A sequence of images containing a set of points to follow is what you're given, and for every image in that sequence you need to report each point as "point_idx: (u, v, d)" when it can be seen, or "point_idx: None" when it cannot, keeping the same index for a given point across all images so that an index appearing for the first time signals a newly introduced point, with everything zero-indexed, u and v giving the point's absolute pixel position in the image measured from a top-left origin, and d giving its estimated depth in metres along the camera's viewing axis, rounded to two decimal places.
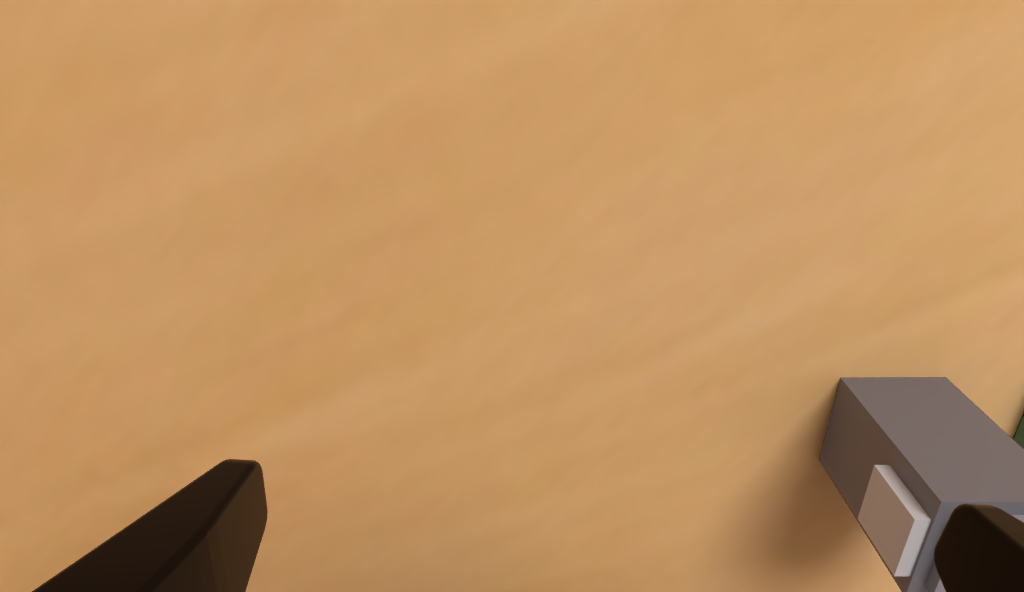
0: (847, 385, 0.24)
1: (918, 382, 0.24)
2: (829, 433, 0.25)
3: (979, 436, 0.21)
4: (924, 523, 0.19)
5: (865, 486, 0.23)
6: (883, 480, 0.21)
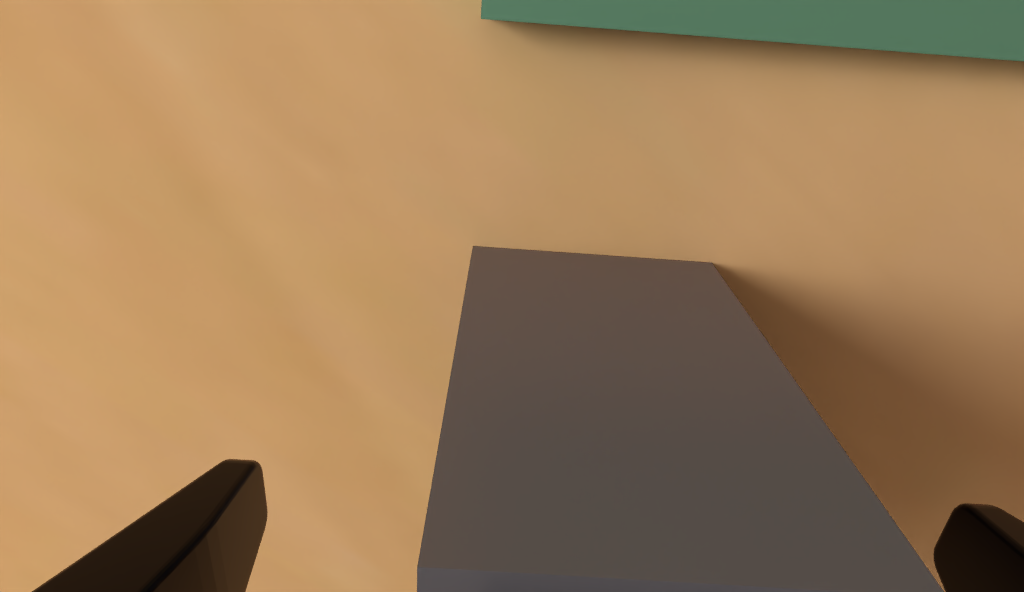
0: None
1: None
2: None
3: None
4: None
5: None
6: None
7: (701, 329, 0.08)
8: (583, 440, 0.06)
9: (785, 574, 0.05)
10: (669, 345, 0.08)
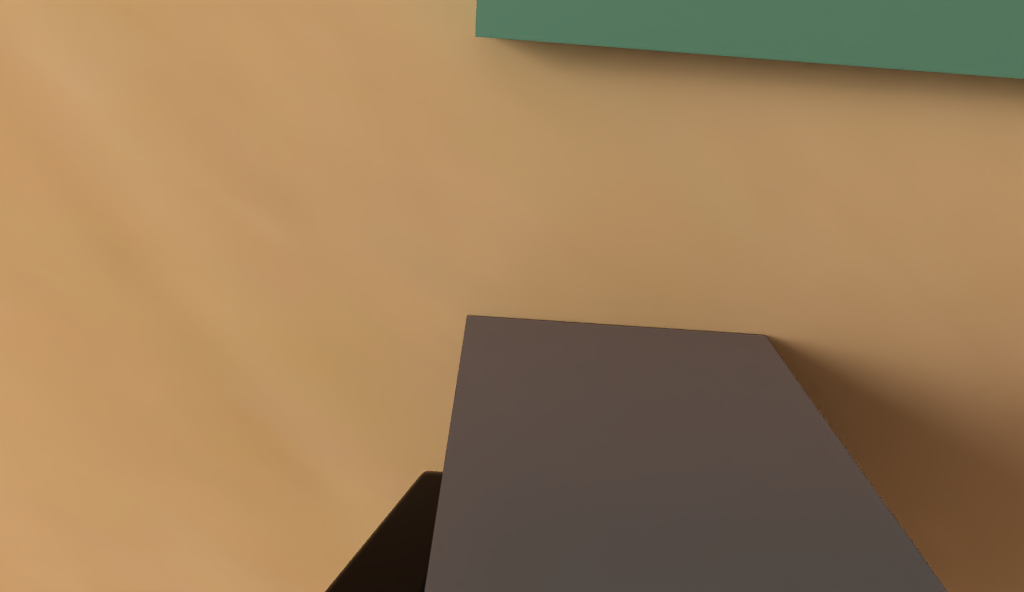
0: None
1: None
2: None
3: None
4: None
5: None
6: None
7: (769, 449, 0.06)
8: None
9: None
10: (732, 480, 0.06)
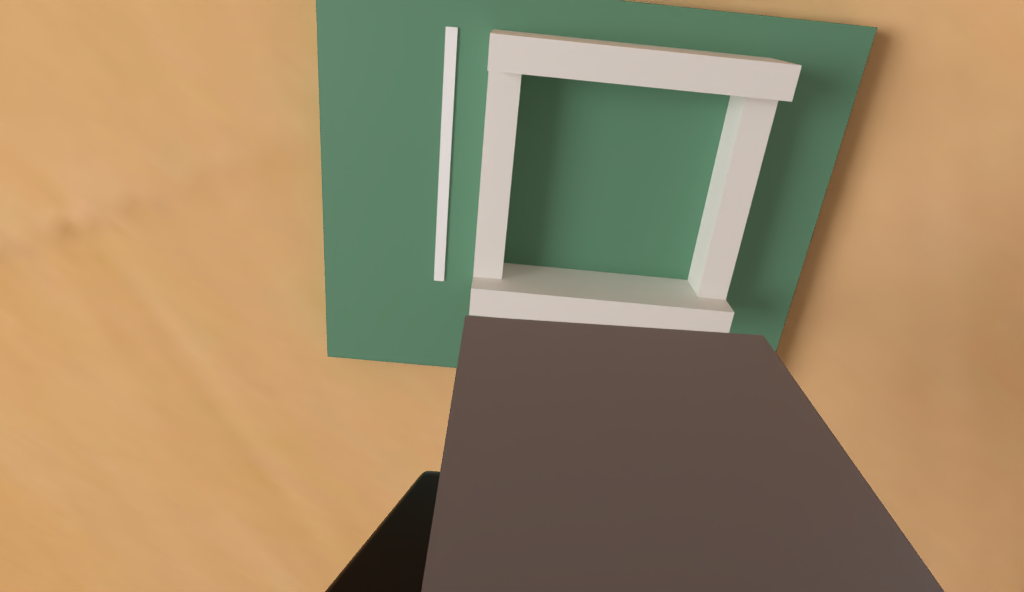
0: None
1: None
2: None
3: None
4: None
5: None
6: None
7: (767, 449, 0.06)
8: None
9: None
10: (729, 480, 0.06)
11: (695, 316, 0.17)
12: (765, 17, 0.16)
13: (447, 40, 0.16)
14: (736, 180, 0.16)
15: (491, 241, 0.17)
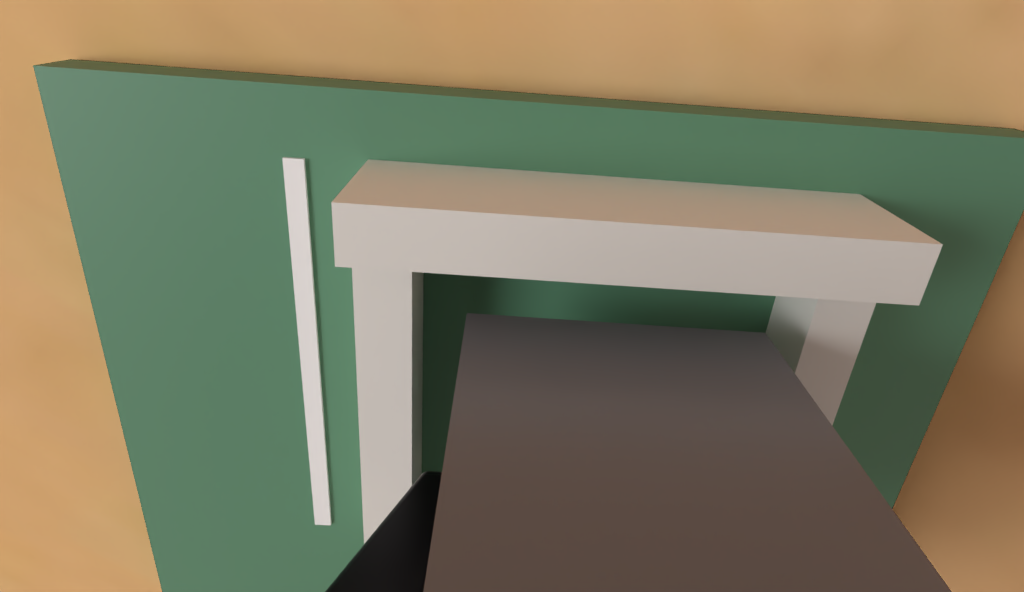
0: None
1: None
2: None
3: None
4: None
5: None
6: None
7: (769, 447, 0.06)
8: None
9: None
10: (732, 478, 0.06)
11: None
12: (853, 128, 0.09)
13: (289, 178, 0.09)
14: None
15: (388, 500, 0.10)
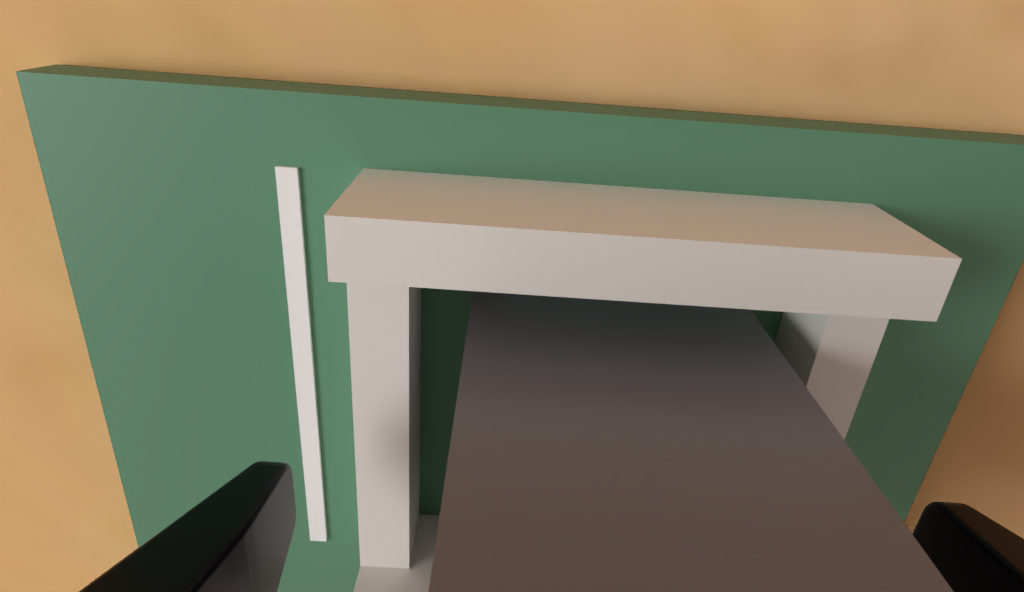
0: None
1: None
2: None
3: None
4: None
5: None
6: None
7: (737, 383, 0.07)
8: (609, 543, 0.05)
9: None
10: (703, 405, 0.07)
11: None
12: (866, 136, 0.09)
13: (282, 188, 0.09)
14: None
15: (385, 518, 0.10)
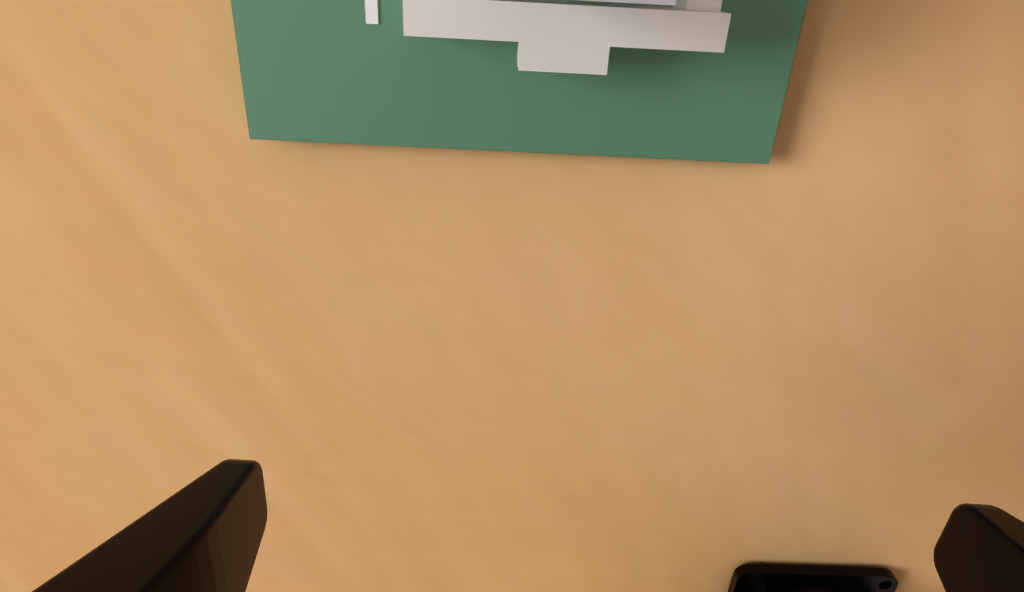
0: None
1: None
2: None
3: None
4: None
5: None
6: None
7: None
8: None
9: None
10: None
11: (683, 22, 0.14)
12: None
13: None
14: None
15: None
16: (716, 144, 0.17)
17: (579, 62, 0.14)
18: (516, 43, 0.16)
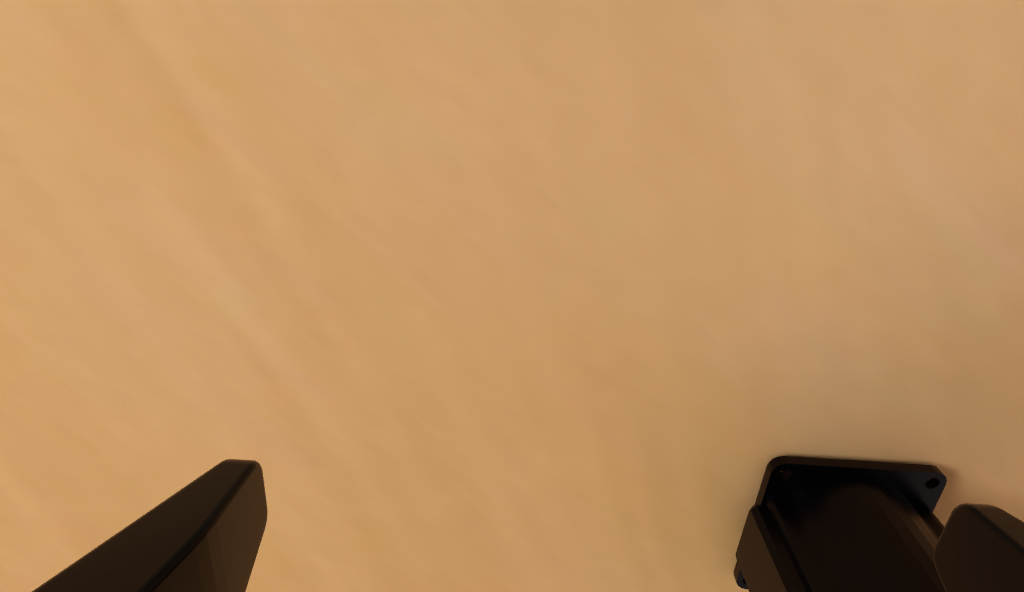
0: None
1: None
2: None
3: None
4: None
5: None
6: None
7: None
8: None
9: None
10: None
11: None
12: None
13: None
14: None
15: None
16: None
17: None
18: None
